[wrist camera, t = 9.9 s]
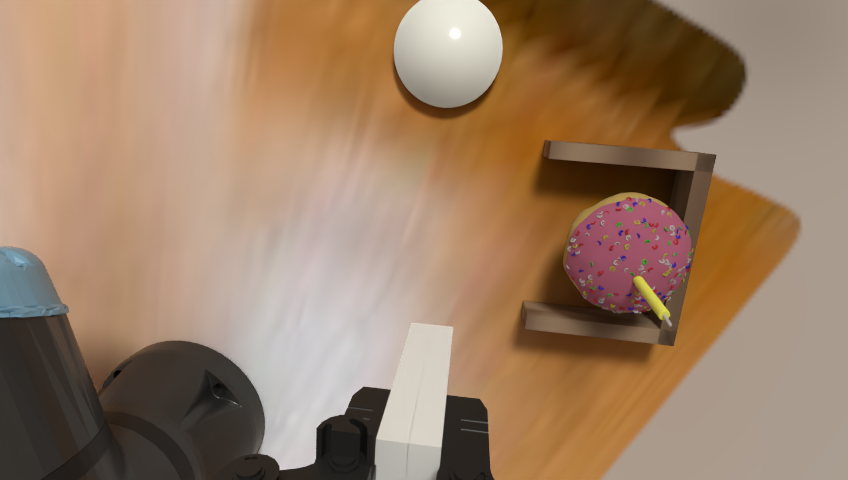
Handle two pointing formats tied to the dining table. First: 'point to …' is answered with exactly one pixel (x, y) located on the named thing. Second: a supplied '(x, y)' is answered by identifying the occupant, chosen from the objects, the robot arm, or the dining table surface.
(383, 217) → the dining table surface
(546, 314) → the bay
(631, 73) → the dining table surface
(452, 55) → the white round domed disc
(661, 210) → the cupcake
